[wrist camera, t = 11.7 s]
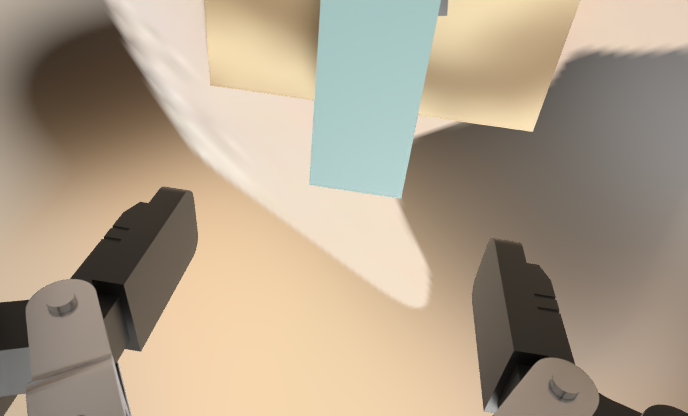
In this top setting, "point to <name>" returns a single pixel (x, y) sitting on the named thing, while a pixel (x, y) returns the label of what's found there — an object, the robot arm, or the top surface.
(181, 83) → the top surface
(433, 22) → the block
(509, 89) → the board
